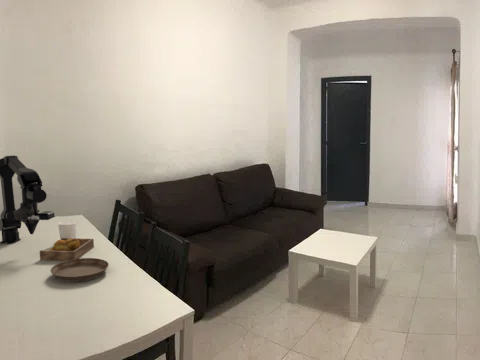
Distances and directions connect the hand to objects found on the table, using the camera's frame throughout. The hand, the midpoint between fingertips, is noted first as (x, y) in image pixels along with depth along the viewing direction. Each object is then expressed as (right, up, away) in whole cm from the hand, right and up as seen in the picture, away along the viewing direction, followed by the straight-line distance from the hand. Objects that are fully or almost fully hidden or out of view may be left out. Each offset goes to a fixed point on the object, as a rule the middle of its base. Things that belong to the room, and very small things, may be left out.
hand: (31, 234), depth 172 cm
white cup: (+9, -7, +16) cm, 19 cm away
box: (+16, -9, +1) cm, 18 cm away
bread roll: (+15, -9, -1) cm, 18 cm away
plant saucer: (+31, -13, -23) cm, 40 cm away
